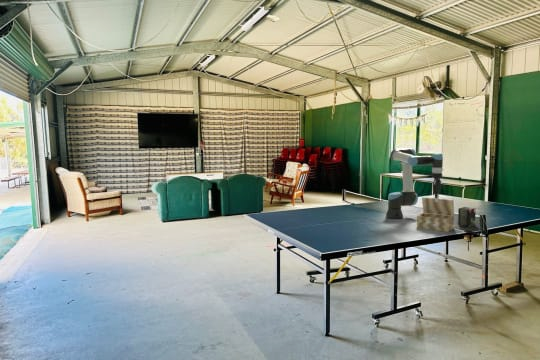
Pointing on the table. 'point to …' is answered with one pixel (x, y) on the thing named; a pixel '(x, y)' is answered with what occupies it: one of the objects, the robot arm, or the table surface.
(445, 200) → the flap
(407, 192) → the robot arm
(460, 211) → the tampon box
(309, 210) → the table surface
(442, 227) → the open wooden box
